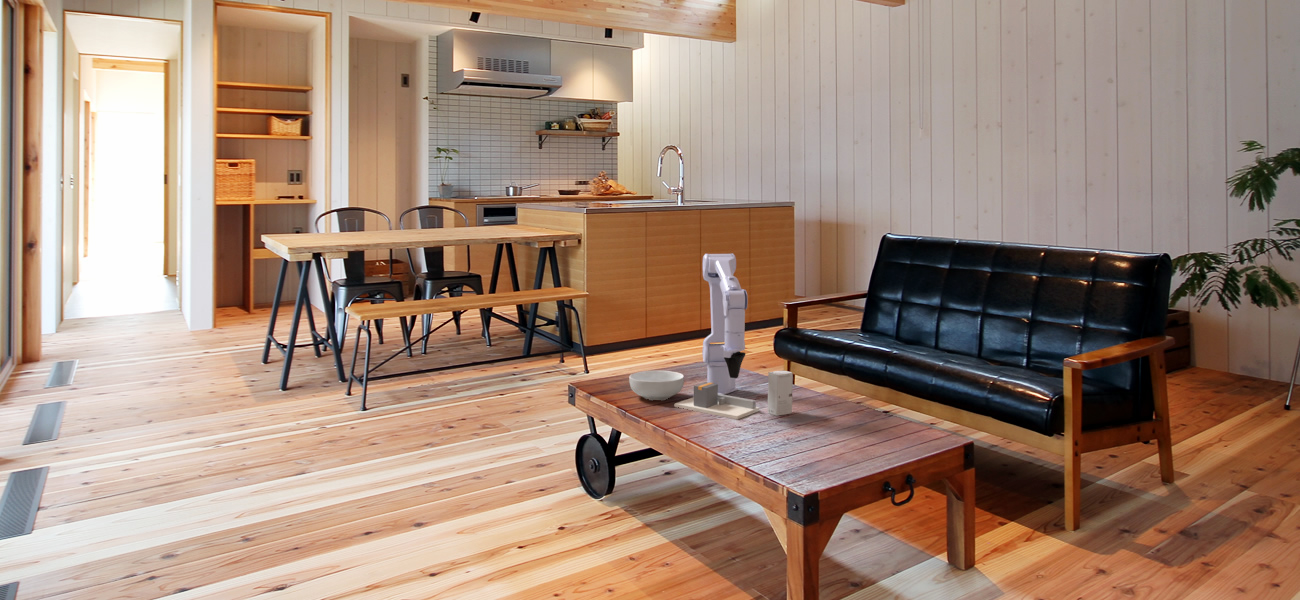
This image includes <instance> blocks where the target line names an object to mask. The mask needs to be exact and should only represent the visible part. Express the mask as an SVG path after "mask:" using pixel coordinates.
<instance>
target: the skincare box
mask: <svg viewBox="0 0 1300 600" xmlns="http://www.w3.org/2000/svg"><path fill="white" fill-rule="evenodd" d="M767 375H768V377H767V378H768V379H767V380H768V381H767V413H768V414H769V415H771V416H775V417H778V416H784V415H788V414H789V415H790V414H792V413H793V381H794V377H793V375H794V374H793V372H792V371H788V370H783V369H782V370H774V371H770V372H769V371H768V373H767Z"/></svg>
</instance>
